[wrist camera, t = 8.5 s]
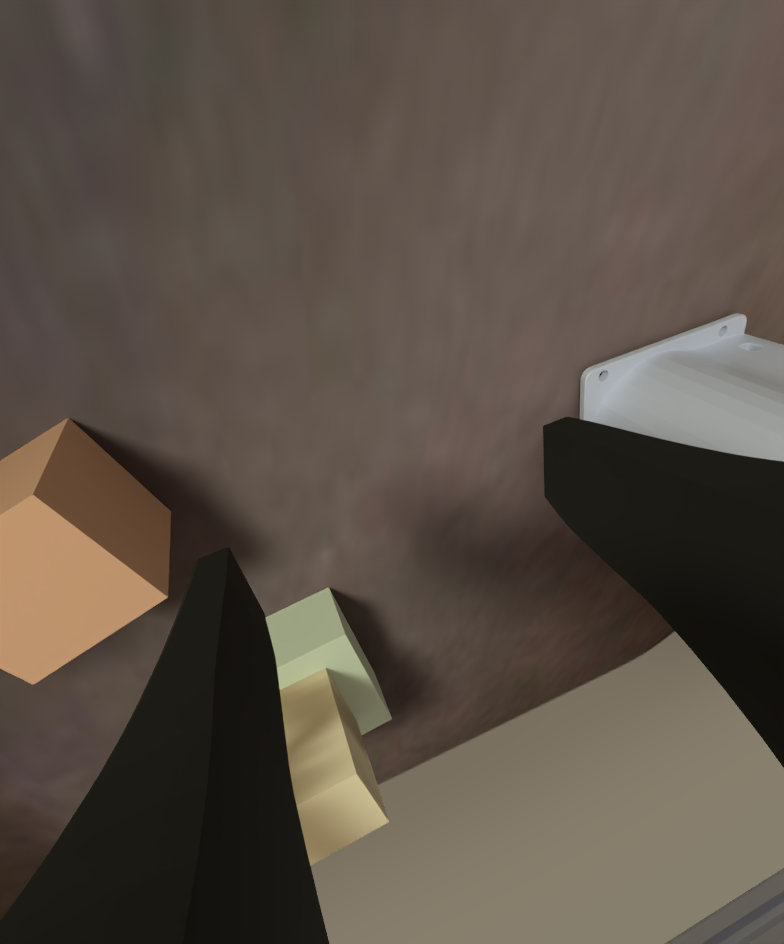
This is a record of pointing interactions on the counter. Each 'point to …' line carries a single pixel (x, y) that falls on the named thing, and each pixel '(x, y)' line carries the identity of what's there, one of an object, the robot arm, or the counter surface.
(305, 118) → the counter surface
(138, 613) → the terracotta block
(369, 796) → the beech cube
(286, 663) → the sage block
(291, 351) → the counter surface
